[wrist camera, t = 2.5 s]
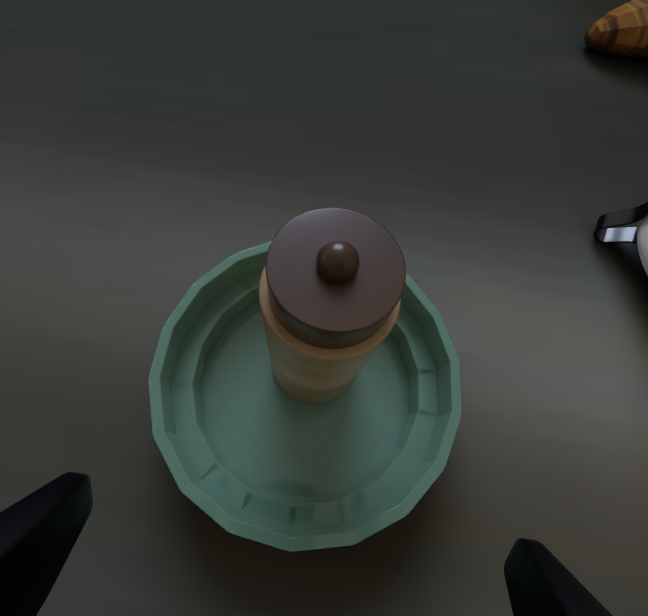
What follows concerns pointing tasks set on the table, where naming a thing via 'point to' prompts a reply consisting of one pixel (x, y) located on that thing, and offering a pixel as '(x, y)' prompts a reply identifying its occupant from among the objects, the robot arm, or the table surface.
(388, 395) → the bowl
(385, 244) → the pepper mill
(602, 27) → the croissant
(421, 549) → the table surface
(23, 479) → the table surface
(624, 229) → the coffee press
